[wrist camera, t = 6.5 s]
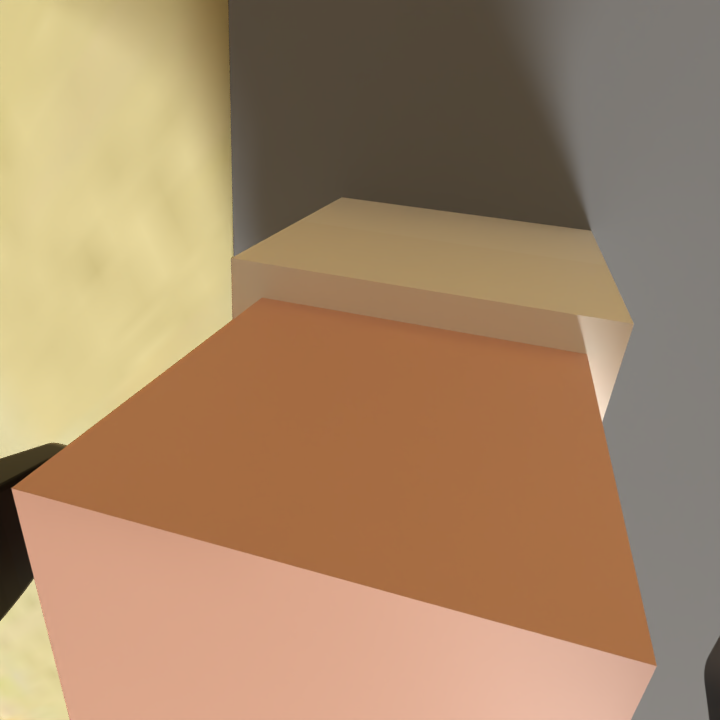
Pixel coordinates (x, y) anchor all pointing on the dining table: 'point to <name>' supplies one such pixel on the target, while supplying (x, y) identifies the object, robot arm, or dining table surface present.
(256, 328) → the cube
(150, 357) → the dining table surface
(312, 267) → the slab upper
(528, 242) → the slab lower
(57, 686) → the dining table surface
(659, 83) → the placemat
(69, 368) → the dining table surface
